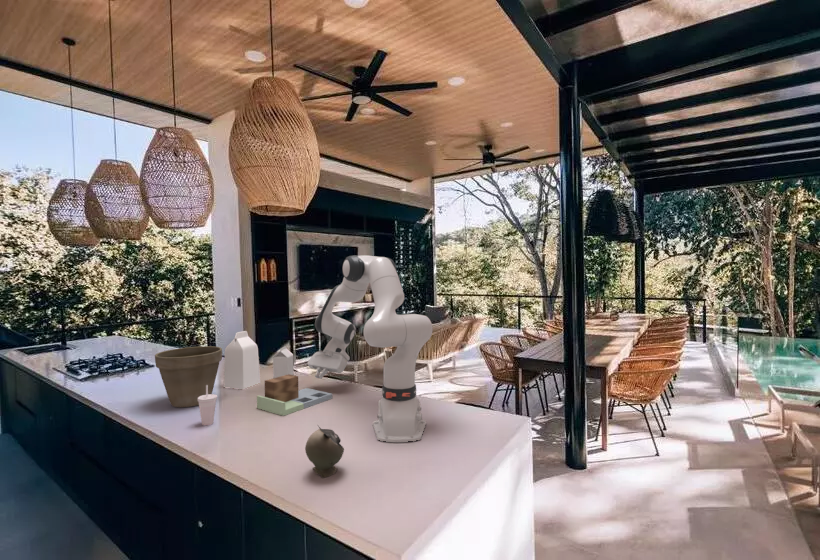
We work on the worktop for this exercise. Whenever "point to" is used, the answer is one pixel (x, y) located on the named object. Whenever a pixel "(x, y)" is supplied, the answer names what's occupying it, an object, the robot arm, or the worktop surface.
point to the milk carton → (283, 363)
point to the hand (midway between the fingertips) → (318, 377)
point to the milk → (241, 362)
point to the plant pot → (188, 373)
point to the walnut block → (282, 388)
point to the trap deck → (293, 402)
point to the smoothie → (207, 407)
